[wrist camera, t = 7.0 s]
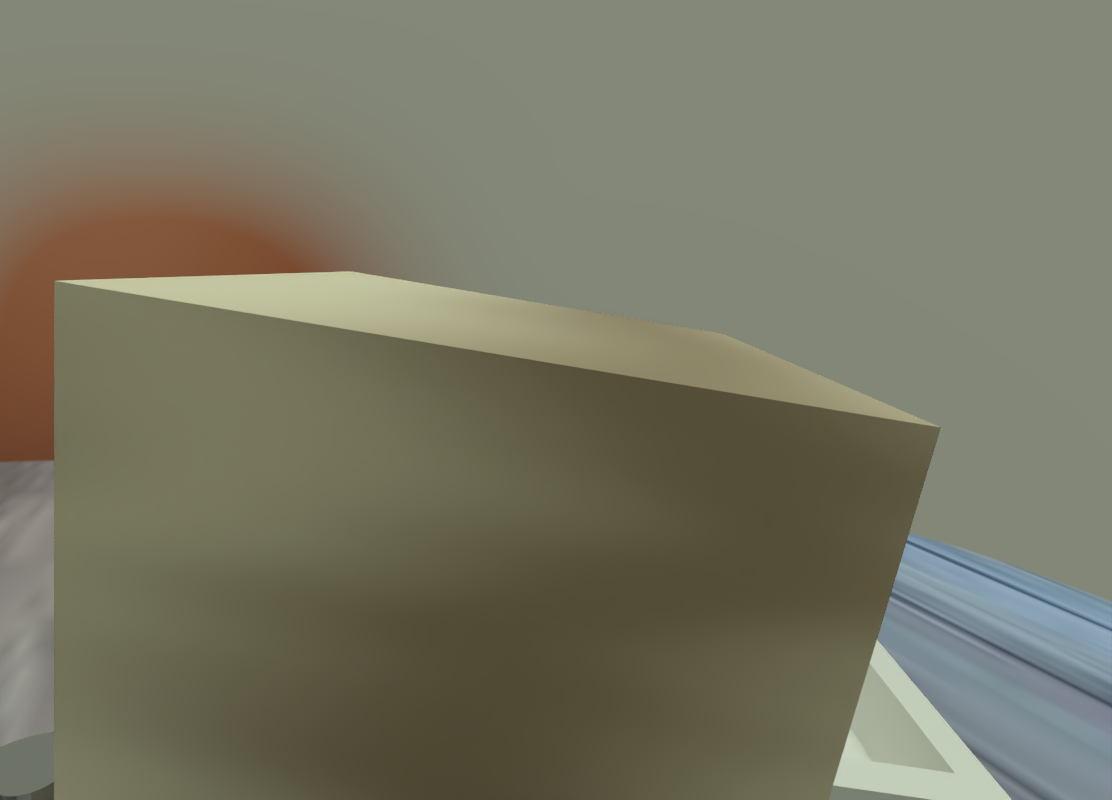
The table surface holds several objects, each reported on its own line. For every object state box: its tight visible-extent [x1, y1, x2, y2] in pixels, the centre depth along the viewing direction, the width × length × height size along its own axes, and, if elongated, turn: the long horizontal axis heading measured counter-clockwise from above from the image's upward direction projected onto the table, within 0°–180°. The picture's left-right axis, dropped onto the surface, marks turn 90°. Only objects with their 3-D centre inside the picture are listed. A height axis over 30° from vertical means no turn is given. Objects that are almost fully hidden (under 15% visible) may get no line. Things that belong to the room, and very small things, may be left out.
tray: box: [829, 640, 1011, 800], centre depth 25 cm, size 20×20×3 cm
